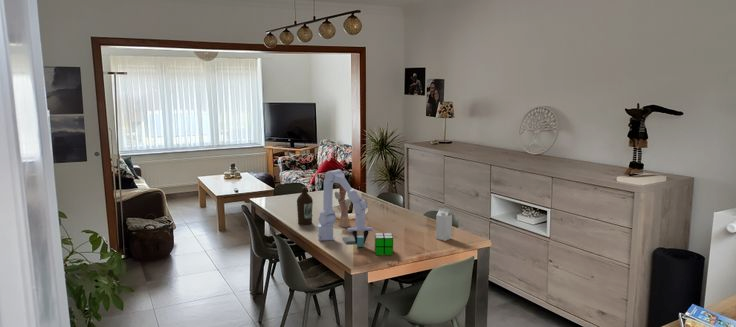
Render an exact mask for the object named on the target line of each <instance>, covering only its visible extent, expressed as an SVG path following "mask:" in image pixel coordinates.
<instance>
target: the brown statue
mask: <svg viewBox="0 0 736 327" xmlns="http://www.w3.org/2000/svg"><path fill="white" fill-rule="evenodd" d="M337 184H338V189H339V191H334V198H335V199H336V200H337V202H338V205H339V207H340V212H341V213H340V214H341V215H340V218H339V221H338V227H339V228H349V227H350V225H351V224H350V223H351V222H350V218H349V208H350V206H351V203H352V202H351V200H350V199H349V198H347V199H346V194H347V192H346V191H345V189H344V188H343V187H342V186H341V185H340V184H339V183H337ZM345 199H346V200H345Z"/></svg>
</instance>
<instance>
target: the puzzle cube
mask: <svg viewBox="0 0 736 327" xmlns="http://www.w3.org/2000/svg"><path fill="white" fill-rule="evenodd" d="M374 254H375V256H394V235H393V233H392V232H384V233H382V232H378V233H377V232H376V233H374Z"/></svg>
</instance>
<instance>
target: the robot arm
mask: <svg viewBox="0 0 736 327" xmlns="http://www.w3.org/2000/svg"><path fill="white" fill-rule="evenodd" d="M338 183H339V184H340V185H341V186H342V187H343V188H344V189H345V191H346V194H347V199H350V201H351V203H352V205H353V206H352V207H353V209H354V214H355V221H354V222H355V224H354V226H355V227H347V232H348V233H352V235H353V236H354V238H355V243H354V244H355V245H356V244H357V236H358V233H357V232H363V236H364V245H365V244H366V240H367V237H368V235H369V232H373V231H374V228H373V227H371V226H366V209H367V208H368V202H367V201H366V199H363V198H362V197H361V196H360V194H359V193H358V191H357V190H355V189H352V188H353V187H351V185H350V184H349V182H348V180H347V178H346V177H345V173H344V171H342V169H339V168H337V169H335V170H328V171H326V173H325V172H324V179H323V201H322V202H323V203H322V204H323V205H322V209H321V211H320V213H319V217H318V222H319V224H318V225H317V228H318V229H317V237H318V242H319V241H335V236H334V224H335V222H336V221H337V217H336V211H335V210H334V209H333V192H334V190H333V189H334V188H333V186H334V184H338Z"/></svg>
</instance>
